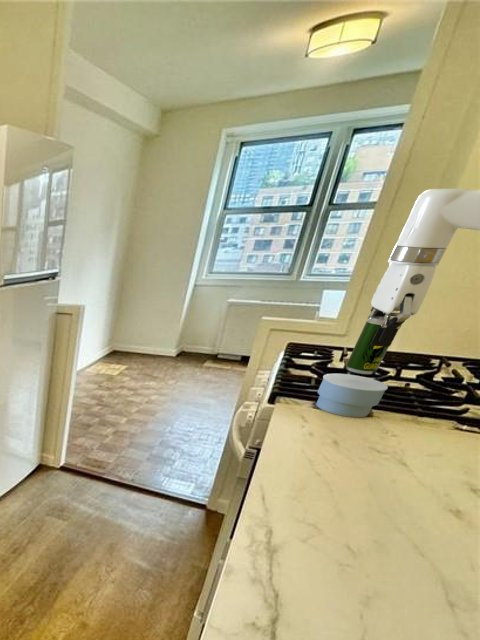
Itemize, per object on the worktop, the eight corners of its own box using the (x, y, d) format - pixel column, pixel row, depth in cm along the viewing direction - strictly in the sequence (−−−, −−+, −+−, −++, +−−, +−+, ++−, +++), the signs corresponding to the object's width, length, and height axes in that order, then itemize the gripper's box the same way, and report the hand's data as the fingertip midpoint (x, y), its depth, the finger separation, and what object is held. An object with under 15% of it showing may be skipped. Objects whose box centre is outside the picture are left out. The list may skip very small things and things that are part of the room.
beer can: (338, 367, 113) (362, 316, 108) (357, 366, 114) (382, 315, 109) (362, 375, 109) (388, 321, 103) (381, 373, 110) (409, 320, 104)
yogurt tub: (362, 404, 119) (375, 377, 115) (382, 422, 110) (397, 393, 106) (305, 397, 123) (316, 371, 119) (319, 414, 114) (332, 386, 110)
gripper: (463, 262, 92) (414, 354, 100) (419, 252, 105) (379, 334, 114) (412, 260, 94) (368, 350, 103) (375, 251, 108) (339, 331, 117)
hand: (374, 341), depth 108 cm, fingers closed on beer can, 5 cm apart
